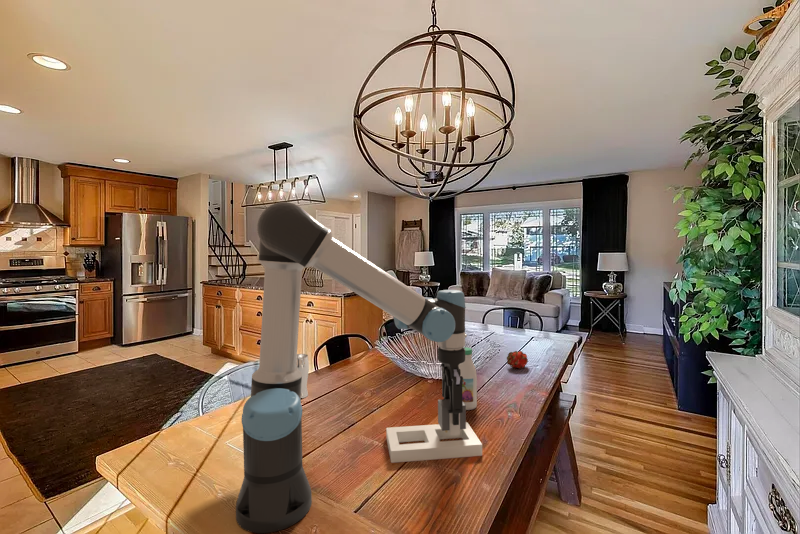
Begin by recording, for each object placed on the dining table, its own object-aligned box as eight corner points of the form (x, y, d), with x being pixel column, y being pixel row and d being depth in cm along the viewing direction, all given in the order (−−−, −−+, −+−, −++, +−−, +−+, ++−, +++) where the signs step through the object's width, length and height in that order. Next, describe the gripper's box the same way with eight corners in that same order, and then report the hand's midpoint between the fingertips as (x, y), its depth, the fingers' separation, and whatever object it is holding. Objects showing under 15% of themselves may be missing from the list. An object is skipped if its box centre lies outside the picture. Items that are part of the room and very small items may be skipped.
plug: (465, 434, 104) (465, 405, 104) (442, 436, 103) (442, 407, 103) (460, 426, 109) (460, 398, 109) (438, 427, 108) (437, 399, 108)
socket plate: (482, 455, 101) (482, 444, 101) (391, 462, 98) (390, 451, 98) (467, 432, 114) (467, 422, 114) (386, 437, 111) (386, 427, 111)
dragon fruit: (505, 373, 172) (524, 372, 178) (518, 366, 166) (537, 365, 172) (499, 355, 177) (517, 355, 183) (511, 347, 171) (530, 347, 177)
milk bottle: (461, 399, 138) (461, 344, 137) (480, 405, 133) (480, 348, 132) (449, 406, 132) (449, 349, 131) (469, 412, 127) (469, 352, 126)
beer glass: (311, 392, 146) (311, 353, 146) (305, 399, 139) (304, 358, 139) (294, 392, 147) (293, 353, 146) (287, 399, 140) (286, 358, 139)
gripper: (475, 355, 97) (475, 445, 98) (455, 338, 115) (456, 415, 116) (446, 356, 96) (446, 447, 97) (431, 339, 114) (431, 417, 115)
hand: (452, 430), depth 106 cm, fingers closed on plug, 5 cm apart
